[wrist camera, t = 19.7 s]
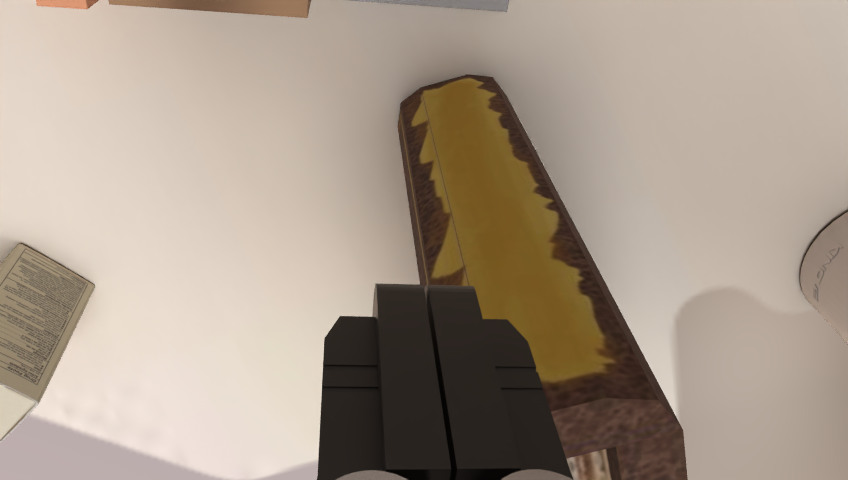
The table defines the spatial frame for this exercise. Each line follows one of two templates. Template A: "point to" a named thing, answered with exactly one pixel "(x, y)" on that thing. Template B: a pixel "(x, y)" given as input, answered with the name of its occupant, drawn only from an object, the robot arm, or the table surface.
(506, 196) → the book
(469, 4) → the rail
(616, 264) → the table surface
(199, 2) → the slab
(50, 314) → the skincare box
